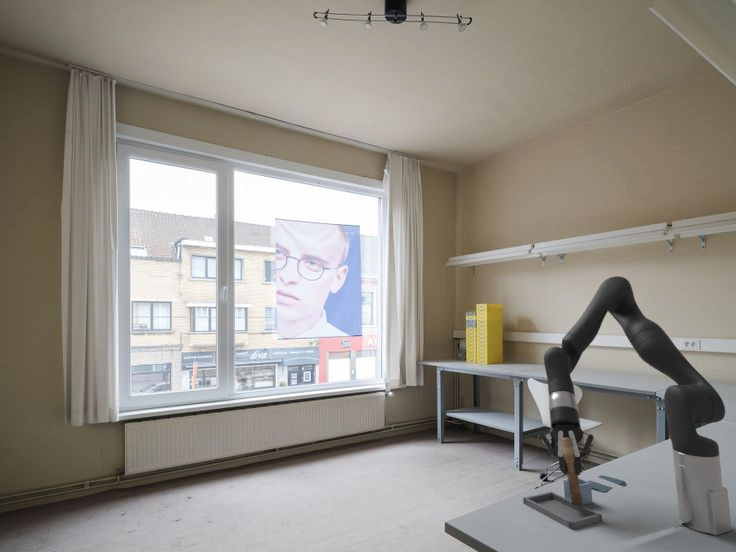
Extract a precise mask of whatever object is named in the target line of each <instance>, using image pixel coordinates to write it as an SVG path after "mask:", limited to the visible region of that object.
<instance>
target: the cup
mask: <svg viewBox="0 0 736 552" xmlns="http://www.w3.org/2000/svg"><path fill="white" fill-rule="evenodd" d="M578 479H579V484H580V490H581V496H582V502H583V505H582V506H584V505H585V506H586V505H588V504H592V503H593V491H592V489H591V483H590V482H588V481H587V480H585V479H582V478H580V477H578ZM563 491H564V498H566V499H569V500H571V496H570V490H569V484H568V478H566V479H563Z"/></svg>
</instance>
